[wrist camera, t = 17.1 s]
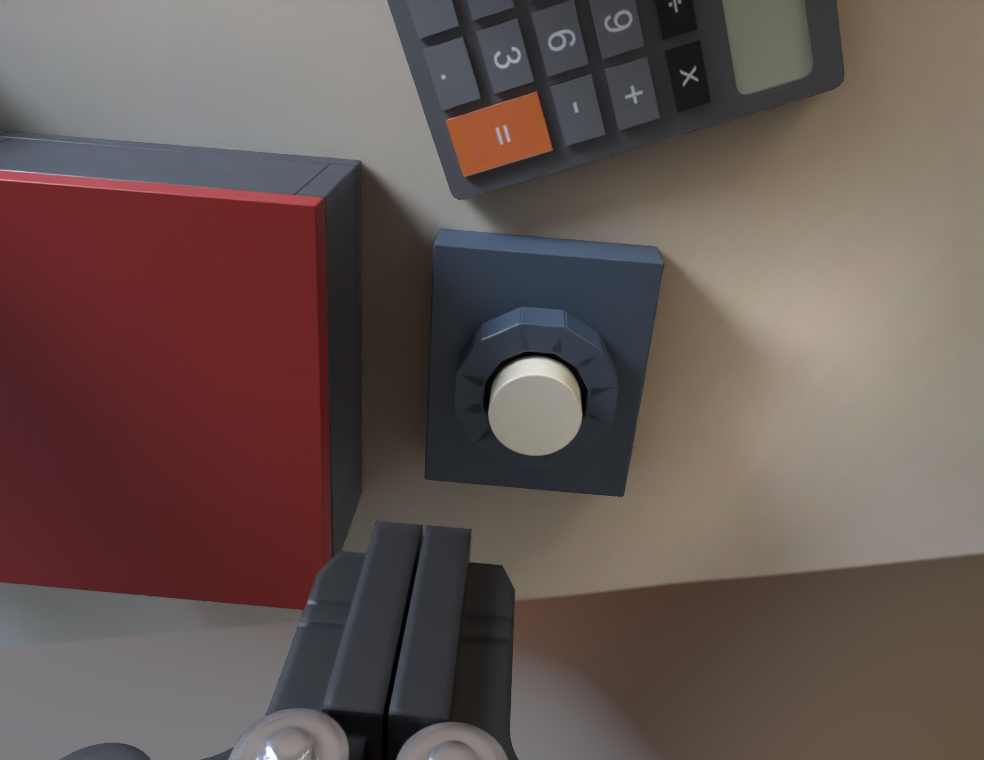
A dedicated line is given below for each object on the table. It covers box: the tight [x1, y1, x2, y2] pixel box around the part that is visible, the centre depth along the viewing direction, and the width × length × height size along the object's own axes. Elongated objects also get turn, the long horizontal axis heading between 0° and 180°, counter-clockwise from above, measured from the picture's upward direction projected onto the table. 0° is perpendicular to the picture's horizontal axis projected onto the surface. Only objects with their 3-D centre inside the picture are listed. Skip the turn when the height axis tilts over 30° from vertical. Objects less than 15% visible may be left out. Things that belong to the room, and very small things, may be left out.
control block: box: [425, 229, 664, 497], centre depth 34 cm, size 11×9×4 cm
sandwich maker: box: [0, 131, 362, 558], centre depth 33 cm, size 16×14×6 cm
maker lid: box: [0, 171, 332, 610], centre depth 30 cm, size 17×14×1 cm
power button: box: [488, 356, 582, 456], centre depth 31 cm, size 4×4×2 cm
